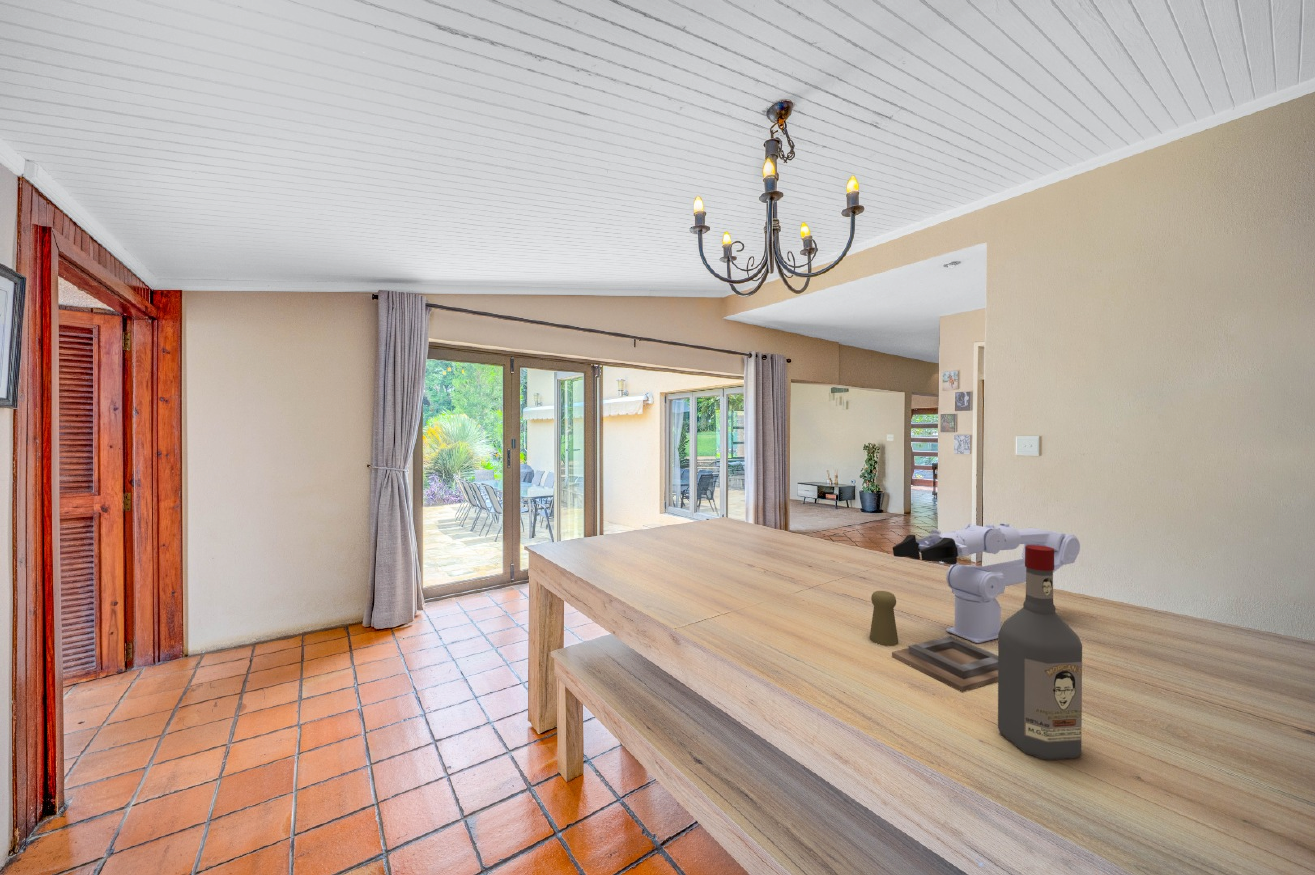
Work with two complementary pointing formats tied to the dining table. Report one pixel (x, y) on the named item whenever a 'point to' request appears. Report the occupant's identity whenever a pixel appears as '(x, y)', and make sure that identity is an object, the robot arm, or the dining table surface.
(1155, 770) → the dining table surface
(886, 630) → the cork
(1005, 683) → the liquor
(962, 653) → the socket board
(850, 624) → the dining table surface
